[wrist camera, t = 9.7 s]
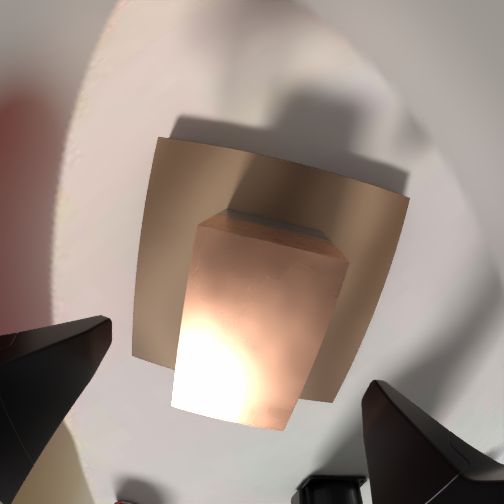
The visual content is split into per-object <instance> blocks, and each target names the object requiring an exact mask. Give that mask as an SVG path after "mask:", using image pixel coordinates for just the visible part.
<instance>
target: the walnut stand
mask: <svg viewBox="0 0 504 504" xmlns="http://www.w3.org/2000/svg"><path fill="white" fill-rule="evenodd" d="M409 200H410V198H408V197H406V196H403V195H400V194H397V193H394V192H391V191H388V190H386V189H383V188H380V187H377V186H373V185H370V184H367V183H364V182H361V181H358V180H355V179H351V178H348V177H345V176H341V175H338V174H334V173H331V172H327V171H324V170H320V169H316V168H313V167H309V166H305V165H301V164H297V163H293V162H289V161H285V160H281V159H277V158H273V157H268V156H264V155H259V154H255V153H250V152H245V151H240V150H235V149H230V148H225V147H220V146H214V145H209V144H203V143H197V142H191V141H184V140H178V139H171V138H163V137H158V140H157V145H156V149H155V154H154V159H153V164H152V169H151V174H150V179H149V185H148V190H147V196H146V202H145V208H144V215H143V222H142V229H141V236H140V244H139V253H138V262H137V272H136V283H135V296H134V312H133V334H132V356H134V357H137V358H140V359H143V360H146V361H148V362H151V363H154V364H157V365H160V366H164V367H167V368H170V369H173V370H176V362H177V353H178V345H179V337H180V329H181V322H182V315H183V308H184V301H185V294H186V288H187V282H188V275H189V269H190V263H191V257H192V251H193V246H194V240H195V235H196V229H197V225H198V224H200V223H202V222H203V221H205V220H207V219H209V218H210V217H212V216H214V215H216V214H217V213H219V212H221V211H223V210H224V209H226V208H230V209H234V210H239V211H243V212H247V213H252V214H256V215H260V216H264V217H269V218H273V219H277V220H281V221H285V222H289V223H293V224H297V225H301V226H305V227H309V228H313V229H317V230H321V231H322V232H323V233H324V234H325V235H326V236H327V237H328V238H329V239H330V240H331V241H332V242H333V243H334V245H335V246H336V247H337V248H338V249H339V250H340V251H341V252H342V253H343V254H344V256H345V257H346V258H347V259H348V260H349V261H350V263H349V266H348V269H347V272H346V276H345V279H344V282H343V285H342V288H341V291H340V294H339V297H338V300H337V303H336V305H335V308H334V311H333V314H332V317H331V319H330V322H329V325H328V328H327V330H326V333H325V336H324V338H323V341H322V344H321V346H320V349H319V351H318V354H317V356H316V359H315V361H314V364H313V366H312V369H311V371H310V373H309V376H308V378H307V380H306V383H305V385H304V387H303V390H302V392H301V394H300V397H299V398H300V399H306V400H313V401H321V402H329V403H333V401H334V399H335V397H336V395H337V393H338V391H339V389H340V387H341V385H342V383H343V381H344V379H345V377H346V375H347V373H348V371H349V369H350V367H351V365H352V363H353V360H354V358H355V356H356V354H357V352H358V349H359V347H360V345H361V343H362V340H363V338H364V336H365V333H366V331H367V328H368V326H369V324H370V321H371V319H372V316H373V314H374V311H375V308H376V306H377V303H378V301H379V298H380V295H381V292H382V290H383V287H384V284H385V281H386V278H387V275H388V272H389V269H390V266H391V263H392V260H393V257H394V254H395V251H396V247H397V244H398V241H399V237H400V234H401V230H402V227H403V223H404V219H405V216H406V212H407V208H408V204H409Z"/></svg>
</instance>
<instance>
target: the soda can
mask: <svg viewBox="0 0 504 504" xmlns="http://www.w3.org/2000/svg"><path fill="white" fill-rule="evenodd" d="M114 504H133V503H130V502H125V501H123V502H115V503H114Z"/></svg>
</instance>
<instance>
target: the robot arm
mask: <svg viewBox="0 0 504 504" xmlns="http://www.w3.org/2000/svg"><path fill="white" fill-rule="evenodd" d="M111 342H112V321H111V319H110V318H107V317H105V316H102V315H99V316H94V317H90V318H85V319H80V320H76V321H71V322H66V323H62V324H57V325H52V326H47V327H42V328H37V329H33V330H28V331H23V332H19V333H13V334H7V335H1V336H0V503H2V504H11V503H12V501H13V499H14V498H15V496H16V494H17V493H18V491H19V489H20V487H21V486H22V484H23V482H24V481H25V479H26V477H27V476H28V474H29V472H30V471H31V469H32V467H33V466H34V464H35V462H36V460H37V459H38V457H39V456H40V454H41V453H42V451H43V449H44V448H45V446H46V445H47V443H48V442H49V440H50V439H51V437H52V436H53V434H54V433H55V431H56V430H57V428H58V427H59V425H60V424H61V422H62V421H63V419H64V418H65V416H66V415H67V413H68V412H69V410H70V409H71V407H72V406H73V404H74V403H75V402H76V400H77V399H78V397H79V396H80V394H81V393H82V392H83V390H84V389H85V387H86V386H87V385H88V383H89V382H90V380H91V379H92V377H93V376H94V374H95V372H96V370H97V369H98V367H99V365H100V363H101V361H102V359H103V358H104V356H105V354H106V352H107V351H108V349H109V347H110V345H111ZM361 404H362V421H363V438H364V445H365V452H366V458H367V465H368V472H369V480H370V487H371V496H372V504H504V465H503V464H500V463H498V462H496V461H495V460H493V459H491V458H490V457H488V456H486V455H485V454H483V453H482V452H480V451H478V450H477V449H475V448H474V447H472V446H470V445H469V444H467V443H466V442H464V441H463V440H462V439H460V438H459V437H457V436H456V435H455V434H453V433H452V432H451V431H449V430H448V429H447V428H445V427H444V426H443V425H441V424H440V423H439V422H437V421H436V420H435V419H433V418H432V417H431V416H429V415H428V414H427V413H425V412H424V411H423V410H421V409H420V408H419V407H417V406H416V405H415V404H414V403H412V402H411V401H410V400H408V399H407V398H406V397H404V396H403V395H402V394H400V393H399V392H398V391H397V390H395V389H394V388H393V387H391V386H390V385H389V384H388V383H386V382H385V381H383V380H373V381H372V382H371V383H370V385H369V387H368V389H367V390H366V392H365V394H364V396H363V398H362V403H361ZM366 481H367V480H366V477H365V476H359V477H329V476H311V477H309V478H308V479H307V481H306V482H305V483H304V484H303V486H302V487H301V488H300V489H299V490H298V491H297V492H296V493H295V494H294V496H293V497H292V499H291V503H292V504H363V501H362V496H361V491H360V487H361V486H362V485H363V484H364V483H365V482H366Z"/></svg>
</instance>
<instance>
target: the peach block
mask: <svg viewBox="0 0 504 504" xmlns="http://www.w3.org/2000/svg"><path fill="white" fill-rule="evenodd" d="M349 263H350V261H349V260H348V259H347V258H346V257H345V256H344V254H343V253H342V252H341V251H340V250H339V249H338V248H337V247H336V246H335V245H334V243H333V242H332V241H331V240H330V239H329V238H328V237H327V236H326V235H325V234H324V233H323V232H322V231H321V230H317V229H313V228H309V227H305V226H301V225H297V224H293V223H289V222H285V221H281V220H277V219H273V218H269V217H264V216H260V215H256V214H252V213H247V212H243V211H239V210H234V209H230V208H226V209H224V210H223V211H221V212H219V213H217V214H216V215H214V216H212V217H210V218H209V219H207V220H205V221H203V222H202V223H200V224H198V225H197V229H196V235H195V240H194V246H193V251H192V257H191V263H190V269H189V275H188V282H187V288H186V294H185V301H184V308H183V315H182V322H181V329H180V337H179V345H178V353H177V362H176V371H175V380H174V390H173V400H172V406H174V407H177V408H181V409H184V410H188V411H191V412H195V413H198V414H202V415H206V416H210V417H214V418H218V419H222V420H226V421H231V422H235V423H240V424H245V425H250V426H256V427H261V428H267V429H273V430H279V431H284V429H285V427H286V425H287V423H288V420H289V418H290V416H291V414H292V412H293V410H294V408H295V405H296V403H297V401H298V399H299V397H300V394H301V392H302V390H303V387H304V385H305V383H306V380H307V378H308V376H309V373H310V371H311V369H312V366H313V364H314V361H315V359H316V356H317V354H318V351H319V349H320V346H321V344H322V341H323V338H324V336H325V333H326V330H327V328H328V325H329V322H330V319H331V317H332V314H333V311H334V308H335V305H336V303H337V300H338V297H339V294H340V291H341V288H342V285H343V282H344V279H345V276H346V272H347V269H348V266H349Z"/></svg>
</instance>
